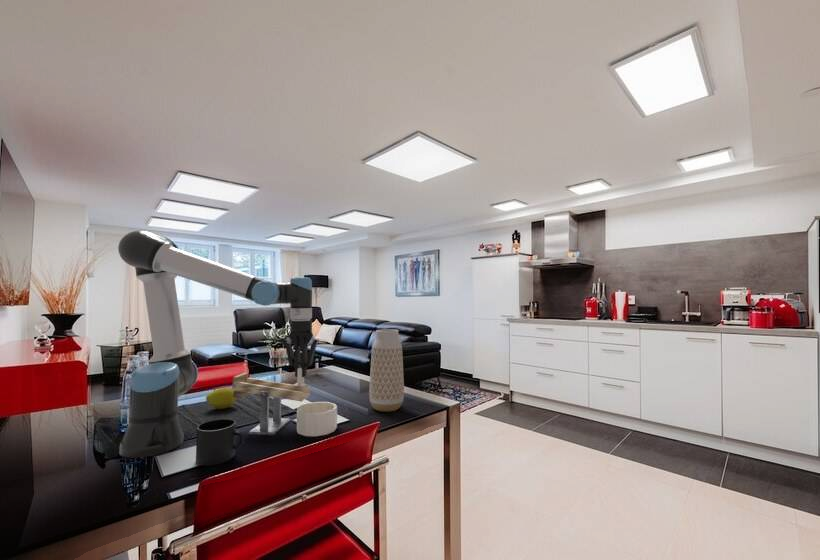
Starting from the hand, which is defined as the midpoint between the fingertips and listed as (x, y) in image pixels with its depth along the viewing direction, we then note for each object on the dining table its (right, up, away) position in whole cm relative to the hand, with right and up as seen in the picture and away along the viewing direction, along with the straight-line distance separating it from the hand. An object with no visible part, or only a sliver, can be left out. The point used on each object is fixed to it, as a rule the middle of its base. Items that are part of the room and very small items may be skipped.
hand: (300, 385), depth 127 cm
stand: (-8, -12, -7) cm, 16 cm away
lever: (-8, -3, -3) cm, 9 cm away
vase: (+30, -13, +14) cm, 35 cm away
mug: (-13, -11, -30) cm, 35 cm away
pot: (+8, -12, -9) cm, 17 cm away
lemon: (-34, -13, +12) cm, 38 cm away
